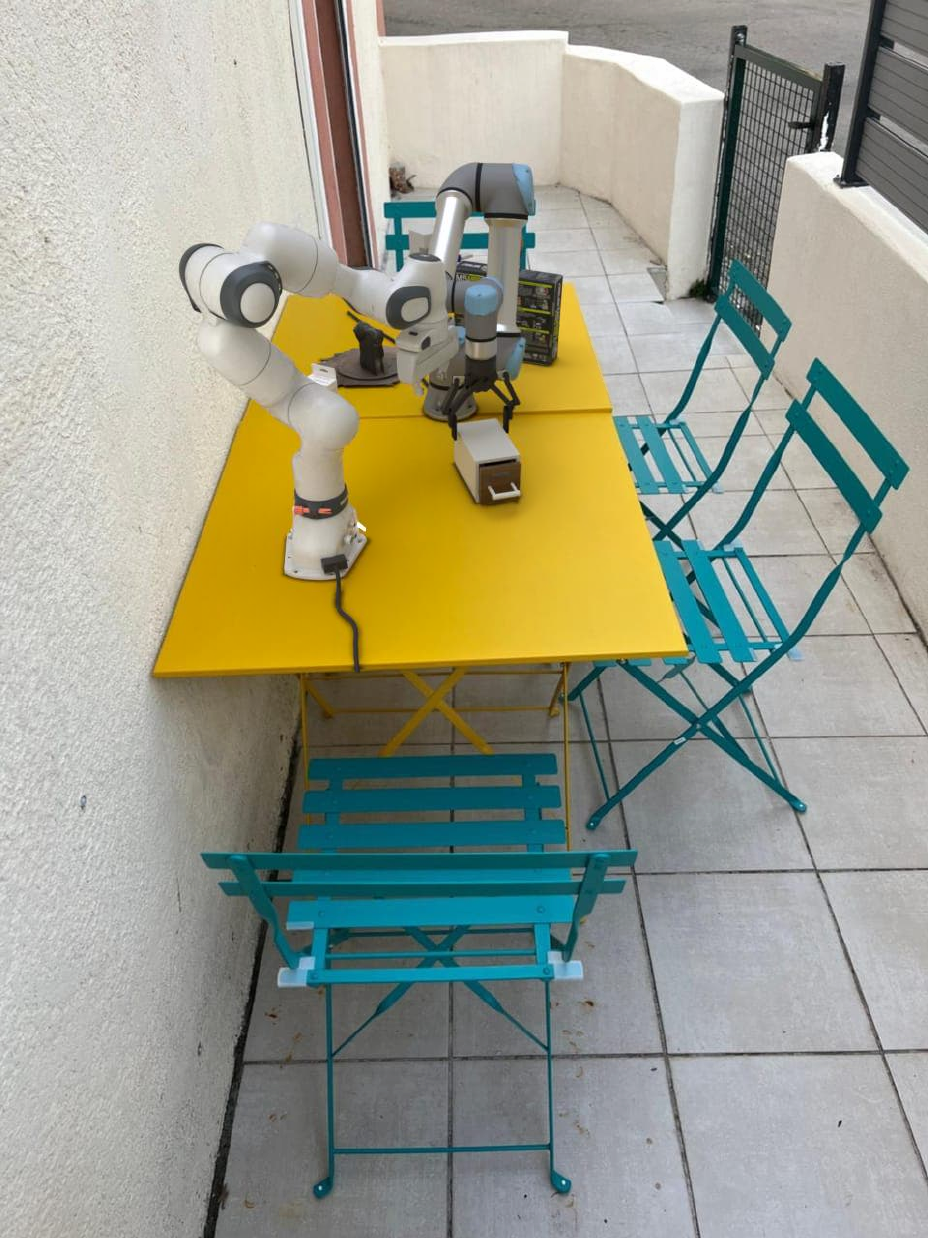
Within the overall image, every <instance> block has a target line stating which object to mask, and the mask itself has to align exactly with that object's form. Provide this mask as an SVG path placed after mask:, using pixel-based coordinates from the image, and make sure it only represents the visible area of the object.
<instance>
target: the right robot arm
mask: <svg viewBox="0 0 928 1238" xmlns="http://www.w3.org/2000/svg"><path fill="white" fill-rule="evenodd" d="M435 198H436V199H435V202H434V209H435V211H436V215H435V219H434V220H435V221H434V225H433V226H434V229H433V234H432V238H431V243H430V248H429V252H428V254H431V255H434V256H437V257H439V258H440V259H441V260H442V262H443V264H444V268H445V273H446V282H447V299H446V310H447V313H448V314H454V313H456V314H465V328H464V327H461V326H455V327H456V328H457V333H458V341H459V350H458V353H457V355H455V356H454V357H452V358H451V359H450V360H449V366H448V369H447V371H446V374H447V377H446V378H445V379H444V380H438V379H437V372H438V371H439V367H438V368H437V369H435V370H434V371H433V372H431V373H430V374H428V380H426V378H425V377H424V378H423V379H421V382H423V384H425V386H426V387H428V388H427V390H426V394H425V397H424V401H423V412H424V414H425V415H426V416H427V417H428V418H430V419H433V420H435V421H439V422H447V425H448V426H447V427H449V429H450V431H451V432H450V433H451V435H450V436H451V438H452V440H453V442H454V441H457V424H458V422H460V421H464V420H466V419H469V418H471V417H472V416H473V415H475V414H476V412H477V400H476V398H475V395H474V393H475V394H479V393H488V392H489V391H490V390H491V392H493V393H494V394H495V395H496V396H497V397H498V398H499V399H500V400H501V401H502V402H503V403H504V404H505V405H503V406H502V428H503V429H504V431H505V432H506V434H507V435H508V434H510V421H512V420H513V419H514V410H515V408H516V407H517V406H520V405H521V404H522V403H521V400H520V399H519V396H518V394H517V392H516V390H515V389H514V386H513V384H512V381H514V382H515V381H516V380H517V379H518V378H519V377H520V372H521V371H522V365H523V356H524V351H525V343H526V340H525V339H524V338H523V337H521V330H520V329H519V328H518V327H517V325H516V313H517V296H518V280H519V268H520V265H519V263H520V264H521V259H520V247H521V234H522V230H523V228H524V227H525V226H526V225H527V224H528V222H529V215H530V216H532V215H534V214H535V186H534V175H533V171H532V168H531V167H530V166H529V165H527V164H523V163H522V164H521V163H515V162H511V163H510V162H509V163H508V162H507V163H506V162H478V161H477V162H476V161H473V162H469V163H465V164H463V165H461V166H459V167H458V168H456V169H455V170H453V171H452V172H451V173H450V174H449V175H448V176H447V177H446V178H445V179H444V181H443V182H442V184H441V186H440V187H439V189H438V191H437V194H436V197H435ZM472 213H483V221H484V223H486V225H487V226H488V241H487V243H488V245H487V263H486V264H487V277H484V278H481V279H480V280H479V281H478V282H477V281H457V280H454V277H455V272H456V267H457V264H458V263H457V262H458V257H459V254H460V252H461V247H462V242H463V237H464V231H465V226H466V222H467V220H468V219H469V218H470V217H471V215H472ZM346 314H348V315H349V316H350V317H351V318H352V319H354V320H355V321H356V322H357V323H358V322H359V321H362V319H360V318H358V317H357V316H355V315H354V314H353V313H352V312H351V311H350V310H347V311H346ZM383 333H384V337H385V338H386V339H388V340H390V341H391V342H393V343H394V344H395V339H396V338H395V339H394V338H393V337H391V336H390V335H388V334H386V333H385V332H383ZM496 381H499V382H503V383H504V385H505V387H506V390H507V391H508V393H509V395H510V397H511V399H509V398H508V397H507V396H506V394H504V393H503V392H502V390H501V389H499V387H498V386H497V385H496V384H495V383H496Z"/></svg>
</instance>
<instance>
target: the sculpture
mask: <svg viewBox="0 0 928 1238" xmlns="http://www.w3.org/2000/svg"><path fill="white" fill-rule="evenodd" d="M352 332H353V335H354V337H355V338H356V340H357V342H358V347H357V348H350V349H349V350H345V351H343V352H335V353H333V356H332V357H329V358H320V361H321V362H317V363H316V364H317V365H322V366H326V367H330V368H334V369H335V372H336V379H337V387H339V386H340V385H342V386H344V387H346V386H355V385H358V386H359V385H360V386H362V385H363V386H371V385H372V386H376V385H378V386H379V385H388V386H391V385H392V386H394V387H396V386H395V385H394V384H395V383H399V382H400V380H399V378H398V371H397V352H398V350H399V348H398V347H396V346H389V345H387V346H386V345H383V342H384V333H385V332H384V331H383V330H382V329H381V328H376V327H374V326H373V325H371V324H369V323H368V322H366V321H363V320H361V321H359V322H358V321H357V324H355V326H353V329H352ZM319 370H320V371H323V372H327V373H328V371H327V370H324V369H319ZM393 383H394V384H393Z"/></svg>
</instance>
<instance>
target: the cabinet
mask: <svg viewBox="0 0 928 1238" xmlns="http://www.w3.org/2000/svg"><path fill="white" fill-rule="evenodd" d="M512 441H513V440H512V439H511V438H510V437H509V435H508V434H506V432H505V431H504V429H503V425H502V424H501V423H500V422H499V420H498V418H496V417H495V418H488V419H480V420H473V421H466V422H457V441H454V440H453V448H454V449H453V459H454V461H453V465H454V467H455V469H456V470H457V472H458V474H459V476H460V478H461V480H462V481H463V483H464V485H465V487H466V489H467V491H468V493H469V494H470V496H471V499H472V501H473V502H474V504H477V503H479V464H483V463H490V462H496V461H503V460H509V459H514V462H519V461H520V462H521V453H520V452H519V450H518V449H517V447H516V446H515V444H514V443H513V442H512Z"/></svg>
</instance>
